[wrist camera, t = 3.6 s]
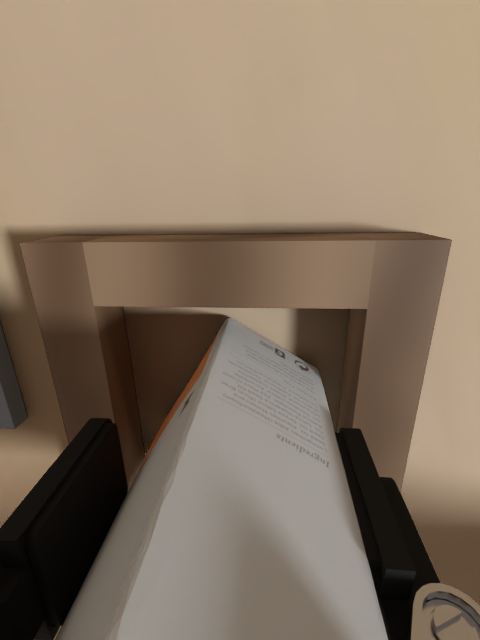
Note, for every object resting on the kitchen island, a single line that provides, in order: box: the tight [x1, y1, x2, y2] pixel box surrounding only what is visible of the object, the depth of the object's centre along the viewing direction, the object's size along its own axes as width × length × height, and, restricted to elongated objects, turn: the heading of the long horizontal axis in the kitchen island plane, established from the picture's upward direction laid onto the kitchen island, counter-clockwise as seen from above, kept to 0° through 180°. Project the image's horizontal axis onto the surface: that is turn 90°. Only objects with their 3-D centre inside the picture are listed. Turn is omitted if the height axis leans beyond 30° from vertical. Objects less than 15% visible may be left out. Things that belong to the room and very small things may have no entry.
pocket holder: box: [20, 233, 452, 492], centre depth 13 cm, size 12×13×2 cm
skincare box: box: [55, 318, 388, 640], centre depth 8 cm, size 6×4×12 cm
